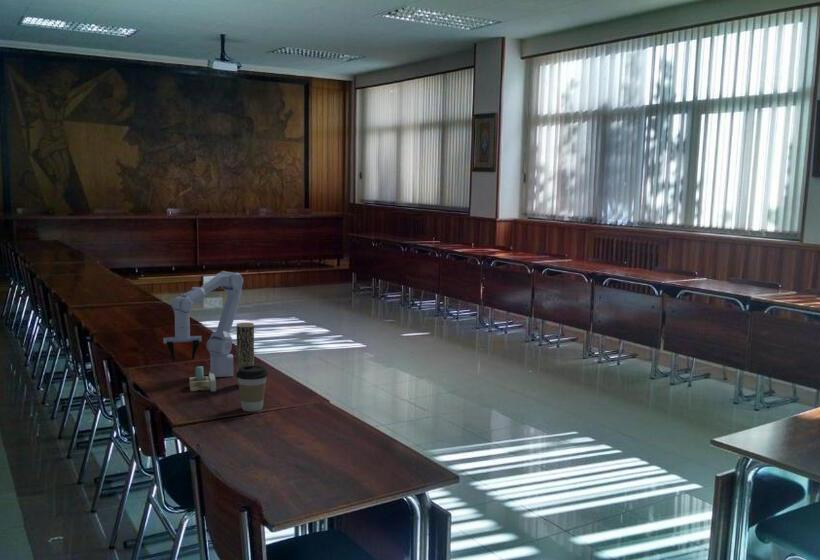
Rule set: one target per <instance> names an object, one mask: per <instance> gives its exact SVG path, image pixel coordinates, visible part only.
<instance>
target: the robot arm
mask: <svg viewBox="0 0 820 560" xmlns="http://www.w3.org/2000/svg"><path fill="white" fill-rule="evenodd" d="M243 284H244V278H243V276H242V275H241V274H240V273H239V272H231V271H226V270H221V271H220V272H218V273H216V274H215V276H214V277H213V278H211V279H210V280H208V281H207V282H206V283H204V284H203V285H202V286H200V287H199V286H192V287H191V290H189V291H187V292H184V293H182V294H181V296H176V297H174V298H173V300H172V303H171V305H170V306H171V308H172V310H173V313H174V336H170V337H163V344H164V345H166V346H167V348H168V351H169V353H170V355H171V356H170V357H171V360H172V362H174V361H175V345H174V344H175V343H191V360H195V356H196V352H197V349H198V347H199V345H200V342H202V335H191V321H190V320H191V319H190V318H191V317H190V315H191V314H190V311H191V310H193V307H194V306H195V305H196V304H197V303H200V301H202V300H204V299H205V296H206V294H208V293H210V292H212V291H214V290H215V289H217V288H219V287H221V288H222V289H223V290H224V291H225V293H226V295H227V297H226V300H225V303H224V305H223V309H222V312H221V316H220V318H219V322H218V325H217V327H216V328H217V329H216V330H215V331H214V332H212V333H211V334H210V337H209V339H207V342H206V350H207V351H208V352H209V356H210V363H209V364H210V371H209V372H208V375H209V374H212V373H214V376H215V378H223V377H226V378H227V377H234V371H235V370H234V355H233V354H232V353H231V352H232V342H233V337H232V336H231V334H230V333H231V330H232V328H233V323H234V321H235V317H236V314H237V311H238V308H239V305H240V301H241V298H242V294H243V291H242V290H243V286H244V285H243Z"/></svg>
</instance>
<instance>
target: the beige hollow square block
mask: <svg viewBox="0 0 820 560" xmlns="http://www.w3.org/2000/svg"><path fill="white" fill-rule="evenodd" d="M188 379H189V391H190V392H196V391H197V392H199V391H198V390H201V391H211V390H210V378H209V375H208V376H204V381H196V376H193V377H191V376H190V377H189V378H188Z"/></svg>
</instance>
